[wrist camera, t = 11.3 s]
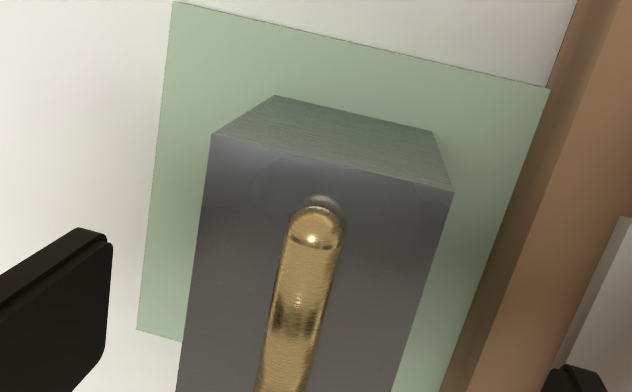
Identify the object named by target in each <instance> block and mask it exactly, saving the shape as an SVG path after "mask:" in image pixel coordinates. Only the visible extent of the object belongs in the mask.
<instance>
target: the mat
mask: <svg viewBox="0 0 632 392" xmlns="http://www.w3.org/2000/svg"><path fill="white" fill-rule="evenodd" d="M550 91H551V90H550V89H547V88H544V87H540V86H536V85H531V84H527V83H523V82H518V81H514V80H510V79H506V78H501V77H497V76H493V75H489V74H484V73H480V72H476V71H472V70H467V69H463V68H459V67H454V66H450V65H446V64H442V63H437V62H433V61H429V60H425V59H420V58H416V57H412V56H407V55H403V54H399V53H395V52H390V51H386V50H382V49H378V48H373V47H369V46H365V45H360V44H356V43H352V42H348V41H343V40H339V39H335V38H331V37H326V36H322V35H318V34H314V33H309V32H305V31H301V30H296V29H292V28H288V27H284V26H279V25H275V24H271V23H267V22H262V21H258V20H254V19H249V18H245V17H241V16H237V15H232V14H228V13H224V12H220V11H215V10H211V9H207V8H203V7H198V6H194V5H190V4H185V3H181V2H173V4H172V13H171V22H170V31H169V40H168V48H167V57H166V66H165V75H164V84H163V93H162V102H161V111H160V120H159V129H158V138H157V147H156V156H155V165H154V174H153V183H152V192H151V201H150V210H149V219H148V228H147V237H146V246H145V255H144V264H143V273H142V282H141V291H140V300H139V309H138V318H137V327H136V330H139V331H143V332H147V333H150V334H154V335H158V336H161V337H165V338H168V339H172V340H176V341H179V342H182V341H183V334H184V327H185V320H186V313H187V305H188V298H189V291H190V284H191V277H192V270H193V262H194V255H195V248H196V241H197V234H198V227H199V219H200V212H201V205H202V198H203V191H204V184H205V176H206V169H207V162H208V155H209V148H210V141H211V134H212V133H214V132H215V131H217V130H218V129H220V128H222V127H223V126H225V125H227V124H228V123H230V122H231V121H233V120H235V119H236V118H238V117H239V116H241V115H243V114H244V113H246V112H247V111H249V110H251V109H252V108H254V107H255V106H257V105H259V104H260V103H262V102H263V101H265V100H267V99H268V98H270V97H271V96H273V95H279V96H283V97H287V98H291V99H296V100H300V101H304V102H309V103H313V104H317V105H321V106H326V107H330V108H334V109H339V110H343V111H347V112H351V113H356V114H360V115H364V116H368V117H373V118H377V119H381V120H386V121H390V122H394V123H398V124H403V125H407V126H411V127H416V128H420V129H424V130H428V131H432V132H433V135H434V137H435V140H436V143H437V146H438V148H439V151H440V154H441V156H442V159H443V162H444V164H445V167H446V170H447V173H448V175H449V178H450V181H451V183H452V186H453V189H454V191H455V193H454V197H453V200H452V203H451V206H450V209H449V212H448V215H447V218H446V222H445V225H444V228H443V231H442V234H441V237H440V240H439V243H438V247H437V250H436V253H435V256H434V259H433V262H432V265H431V268H430V272H429V275H428V278H427V281H426V284H425V287H424V290H423V293H422V297H421V300H420V303H419V306H418V309H417V312H416V315H415V318H414V322H413V325H412V328H411V331H410V334H409V337H408V340H407V343H406V347H405V350H404V353H403V356H402V359H401V362H400V365H399V368H398V372H397V375H396V378H395V381H394V384H393V387H392V390H391V392H439V389H440V386H441V384H442V381H443V378H444V376H445V373H446V370H447V368H448V365H449V362H450V360H451V357H452V354H453V351H454V349H455V346H456V343H457V341H458V338H459V335H460V333H461V330H462V327H463V325H464V322H465V319H466V316H467V314H468V311H469V308H470V306H471V303H472V300H473V298H474V295H475V292H476V290H477V287H478V284H479V282H480V279H481V276H482V273H483V271H484V268H485V265H486V263H487V260H488V257H489V255H490V252H491V249H492V247H493V244H494V241H495V238H496V236H497V233H498V230H499V228H500V225H501V222H502V220H503V217H504V214H505V212H506V209H507V206H508V204H509V201H510V198H511V195H512V193H513V190H514V187H515V185H516V182H517V179H518V177H519V174H520V171H521V169H522V166H523V163H524V160H525V158H526V155H527V152H528V150H529V147H530V144H531V142H532V139H533V136H534V134H535V131H536V128H537V126H538V123H539V120H540V117H541V115H542V112H543V109H544V107H545V104H546V101H547V99H548V96H549V93H550Z"/></svg>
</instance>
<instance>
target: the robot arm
mask: <svg viewBox="0 0 632 392" xmlns="http://www.w3.org/2000/svg"><path fill="white" fill-rule="evenodd" d="M112 257H113V246H112V244H111V243H108V242H107V238H106V236H105V235H104V234H101V233H98V232H94V231H91V230H87V229H83V228H79V227H78V228H75V229H73V230H72V231H70V232H68V233H67V234H65V235H64V236H62V237H60V238H59V239H57V240H56V241H54V242H52V243H51V244H49V245H48V246H46V247H44V248H43V249H41V250H40V251H38V252H36V253H35V254H33V255H32V256H30V257H28V258H27V259H25V260H24V261H22V262H20V263H19V264H17V265H15V266H14V267H12V268H11V269H9V270H7V271H6V272H4V273H3V274H1V275H0V392H72V391H73V390H74V388H75V387H76V386H77V385H78V384H79V383H80V382H81V381H82V380H83V379H84V377H85V376H86V375H87V374H88V373H89V372H90V371H91V370H92V369H93V367H94V366H95V365H96V364H97V363H98V362H99V360H100V358H101V357H102V354H103V352H104V349H105V341H106V329H107V317H108V305H109V293H110V281H111V269H112ZM540 392H608V391H607V389H606V387H605V385H604V384H603V382H602V380H601V378H600V376H599V375H598V374H597V373H596V372H594V371H590V370H587V369H583V368H580V367H576V366H573V365H569V364H564V365H562V366H561V367H560V369H556V368H553V369H552V370H551V371H550V372H549V374H548V376H547V378H546V380H545V382H544V385H543V387H542V389H541V391H540Z"/></svg>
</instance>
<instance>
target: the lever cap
mask: <svg viewBox="0 0 632 392" xmlns="http://www.w3.org/2000/svg"><path fill="white" fill-rule="evenodd" d="M454 193H455V191H454V189H453V186H452V183H451V181H450V178H449V175H448V173H447V170H446V167H445V164H444V162H443V159H442V156H441V154H440V151H439V148H438V146H437V143H436V140H435V137H434V135H433V132H432V131H428V130H424V129H420V128H416V127H411V126H407V125H403V124H398V123H394V122H390V121H386V120H381V119H377V118H373V117H368V116H364V115H360V114H356V113H351V112H347V111H343V110H339V109H334V108H330V107H326V106H321V105H317V104H313V103H309V102H304V101H300V100H296V99H291V98H287V97H283V96H279V95H273V96H271V97H270V98H268V99H267V100H265V101H263V102H262V103H260V104H259V105H257V106H255V107H254V108H252V109H251V110H249V111H247V112H246V113H244V114H243V115H241V116H239V117H238V118H236V119H235V120H233V121H231V122H230V123H228V124H227V125H225V126H223V127H222V128H220V129H218V130H217V131H215V132H214V133H212V134H211V141H210V148H209V155H208V162H207V169H206V176H205V184H204V191H203V198H202V205H201V212H200V219H199V227H198V234H197V241H196V248H195V255H194V262H193V270H192V277H191V284H190V291H189V298H188V305H187V313H186V320H185V327H184V334H183V341H182V348H181V356H180V363H179V370H178V377H177V384H176V391H175V392H391V390H392V387H393V384H394V381H395V378H396V375H397V372H398V368H399V365H400V362H401V359H402V356H403V353H404V350H405V347H406V343H407V340H408V337H409V334H410V331H411V328H412V325H413V322H414V318H415V315H416V312H417V309H418V306H419V303H420V300H421V297H422V293H423V290H424V287H425V284H426V281H427V278H428V275H429V272H430V268H431V265H432V262H433V259H434V256H435V253H436V250H437V247H438V243H439V240H440V237H441V234H442V231H443V228H444V225H445V222H446V218H447V215H448V212H449V209H450V206H451V203H452V200H453V197H454Z"/></svg>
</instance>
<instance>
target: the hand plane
mask: <svg viewBox="0 0 632 392" xmlns="http://www.w3.org/2000/svg"><path fill="white" fill-rule="evenodd" d="M546 88H547V89H550V90H551V91H550V93H549V96H548V99H547V101H546V104H545V107H544V109H543V112H542V115H541V117H540V120H539V123H538V126H537V128H536V131H535V134H534V136H533V139H532V142H531V144H530V147H529V150H528V152H527V155H526V158H525V160H524V163H523V166H522V169H521V171H520V174H519V177H518V179H517V182H516V185H515V187H514V190H513V193H512V195H511V198H510V201H509V204H508V206H507V209H506V212H505V214H504V217H503V220H502V222H501V225H500V228H499V230H498V233H497V236H496V238H495V241H494V244H493V247H492V249H491V252H490V255H489V257H488V260H487V263H486V265H485V268H484V271H483V273H482V276H481V279H480V282H479V284H478V287H477V290H476V292H475V295H474V298H473V300H472V303H471V306H470V308H469V311H468V314H467V316H466V319H465V322H464V325H463V327H462V330H461V333H460V335H459V338H458V341H457V343H456V346H455V349H454V351H453V354H452V357H451V360H450V362H449V365H448V368H447V370H446V373H445V376H444V378H443V381H442V384H441V386H440V389H439V392H540V391H541V389H542V387H543V385H544V382H545V380H546V378H547V376H548V374H549V372H550V371H551V370H552V369H553V368H556V369H560V367H561V366H562V365H564V364H569V365H573V366H576V367H580V368H583V369H587V370H590V371H594V372H596V373H597V374H598V375H599V376H600V378H601V380H602V382H603V384H604V385H605V387H606V389H607V391H608V392H632V0H578V2H577V5H576V7H575V10H574V13H573V16H572V18H571V21H570V24H569V26H568V29H567V32H566V35H565V37H564V40H563V43H562V45H561V48H560V51H559V54H558V56H557V59H556V62H555V64H554V67H553V70H552V73H551V75H550V78H549V81H548V83H547V86H546Z"/></svg>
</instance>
